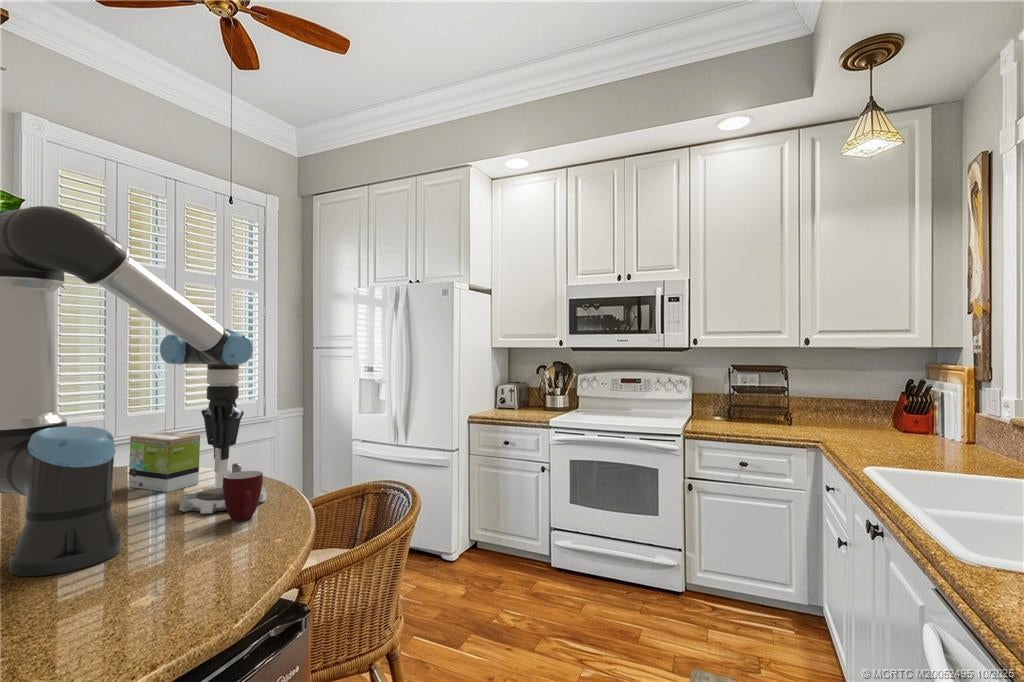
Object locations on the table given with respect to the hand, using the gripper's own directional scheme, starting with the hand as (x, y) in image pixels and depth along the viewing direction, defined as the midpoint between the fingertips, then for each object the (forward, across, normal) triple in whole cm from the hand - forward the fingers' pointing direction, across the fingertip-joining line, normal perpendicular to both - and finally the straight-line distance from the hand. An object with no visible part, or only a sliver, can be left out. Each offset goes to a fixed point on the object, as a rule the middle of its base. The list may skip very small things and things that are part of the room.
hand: (221, 471), depth 133 cm
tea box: (+6, +21, 0) cm, 22 cm away
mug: (+6, -24, +14) cm, 29 cm away
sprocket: (+6, -9, +7) cm, 13 cm away
